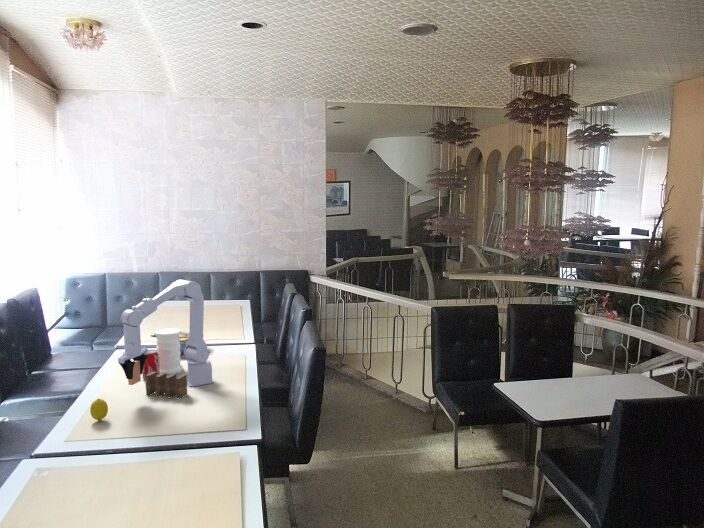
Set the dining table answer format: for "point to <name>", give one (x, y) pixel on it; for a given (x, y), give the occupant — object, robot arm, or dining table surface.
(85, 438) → the dining table surface
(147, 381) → the domino
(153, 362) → the soda can
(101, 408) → the lemon
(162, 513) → the dining table surface
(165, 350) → the decorative container
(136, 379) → the salmon pink rectangular block
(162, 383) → the domino
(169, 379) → the domino
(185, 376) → the domino
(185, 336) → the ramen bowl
